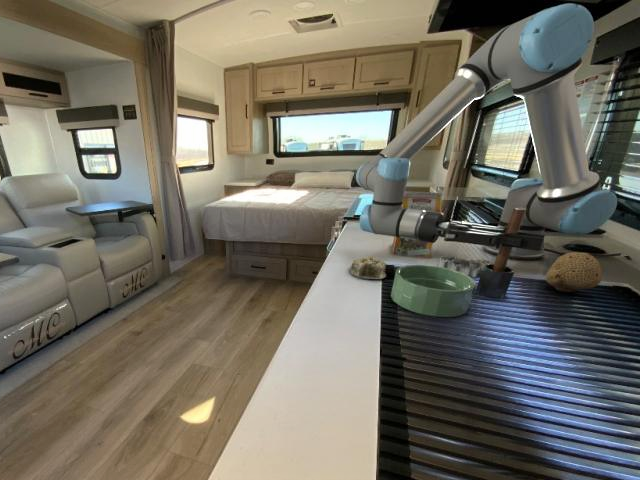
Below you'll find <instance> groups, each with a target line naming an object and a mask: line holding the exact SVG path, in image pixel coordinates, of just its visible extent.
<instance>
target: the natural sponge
mask: <svg viewBox="0 0 640 480" xmlns="http://www.w3.org/2000/svg"><path fill="white" fill-rule="evenodd" d="M577 252H578V251H572V253H570V252H566V253H567V254H565V255H560V256H559V257H558V258H556V259H555V261H554V262H553V263H552V265H551V266H550V268H549V270H548V271H547V273H546V275H545V281H546V282H547V283H548V285H550V286H551V287H553V288H555V289H556V290H557V291H559V292H563V293H572V292H576V291H582V290H583V291H584V290H590V289H593V288H596V287H597V286H598V285H599V284H600V283H601V282H602V280H603V275H602V269H601V265H600V262H599V261H598V259H597V258H595V256H591V255H590V254H587V253H588V252H584V253H577Z"/></svg>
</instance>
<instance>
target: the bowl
mask: <svg viewBox="0 0 640 480" xmlns="http://www.w3.org/2000/svg"><path fill="white" fill-rule="evenodd" d="M476 288H477V282H476V281H475V280H474V279H473V277H470V276H468V275H465V274H463V273H461V272H458V271H455V270H452V269H448V268H443V267H439V265H430V264H408V265H407V264H406V265H402V266H400V267H398V268H397V269H396V270H395V274H394V278H393V283H392V288H391V292H390V297H391V300H392V301H393V302H394V303H395V304H397V306H399V307H402V308H404V309H405V310H408V311H410V312H413V313H415V314H420V315H423V316H430V317H435V318H436V317H438V318H453V317H454V318H455V317H459V316H463V315H465V314H466V313H467V312H468V310H469V308H470V305H471V302H472V299H473V296H474V293H475V291H476Z"/></svg>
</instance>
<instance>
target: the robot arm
mask: <svg viewBox="0 0 640 480" xmlns="http://www.w3.org/2000/svg"><path fill="white" fill-rule="evenodd" d="M594 33H595V23H594V18H593V16H592V14H591V12H590V11H589V10H588V9H587V8H586V7H585V6H583V5H581V4H577V3H571V2H569V3H563V4H559V5H556V6H552V7H549V8H544V9H543V10H540V11H539V12H536V13H534V14H532V15H529V16H527V17H525V18H523V19H521V20H518V21H517V22H514V23H510V24H509V25H507V26H505V27H503V28H502V29H500V30H499V31H498V32H496V33H495V34H493V35H492V36H491V37H490V38H489V39H488V40H487V41H485V42H484V43H483V44H482V45H481V46H480V47H479V48H478V49H477V50H476V51H475V52H474V53H473V54H472V55H471V56H470V57H469V58H468V59H467V60H466V61H465V62H464V63H463V64H462V65H461V66H460V67H459V68H458V69H457V70H456V71H455V72H454V78H453V80H452V81H451V82H449V83H448V85H447V86H446V87H445V88H443V90H441V92H439V93H438V94H437V95H436V96H435V97H434V98H433V99H432V100H431V101H430V102H429V103H428V104H427V105H426V106H425V108H423V109H422V110H421V111H420V112H419V113H418V114H417V115H416V116H415V117H414V118H413V119H412V120H411V121H410V122H409V123H408V124H407V125H406V126H405V127H404V128H403V129H402V131H400V132H399V133H398V134H397V135H396V136H395V137H394V138H393V139H392V140H391V141H390V142H389V143H388V144H387V145H386V146H384V148H383V149H382V150H381V151H380V152H379V153H378V154H376V156H375V157H374V158H372V159H371V160H370V161H367V162H365V163H363V164H361V165H360V167H358V169H357V171H356V174H355V181H356V183H357V184H358V185H359V186H360V187H361V188H362V189H364V190H365V191H370V192H373V196H372V202H371V204H366V205H365V206H364V207H363V208H362V210H361V214H360V216H359V227H360V229H361V231H363V232H366V233H371V234H373V235H381V236H387V237H388V236H389V237H393V238H394V237H399V238H405V240H406V241H409V239H411V240H417V239H419V241H422V242H428V243H433V244H434V243H436V242H437V241H438V239H439V238H443V241H444V242H446V243H447V242H453V243H454V242H455V243H461V244H471V245H477V246H483V250H484V251H485V252H487V253H488V254H492V255H494V256H497V255H498V252H499V249H500V246H501V245H502V246H508V247H513V248H512V251H511V253H510V256H509V259H513V260H522V261H533V260H539V259H540V260H541V259H542V257H543V256H544V253H545V252H548V253H553V254H556V255H560V256H562V255H565V254H567V253H568V252H562V251H557V250H554V249H550V248H545V237H546V234H545V230H546V229H549V230H552V231H556V232H558V233H561V234H565V235H566V234H568V235H573V236H583V235H586V234H589V233H592V232H594V231H596V230H598V229H599V228H601V227H602V226H603V225H605V224H606V223H607V221H608V220H609V219H610V218H611V217H612V216H613V215H614V213H615V211H616V209H617V206H618V198H617V195H616V194H615V193H614V192H612V191H610V190H609V189H602V185H601V180H600V175H599V174H598V173H597V172H595V171H591V170H590V169H589V162H588V157H587V156H588V155H587V150H586V142H585V137H584V131H583V126H582V120H581V119H582V118H581V113H580V107H579V101H578V95H577V89H576V82H575V74H576V73H577V72H578V70H579V69H580V68H581V66H582V65H583V60H582V59H583V58H582V56H584V55H585V53H586V52H587V51H588V49H589V47H590V45H589V43H590V42H591V41H592V40H593V37H594ZM505 82H510V86H511V89H512V93H513V96H516V97H519V98H521V99H523V102H524V107H525V112H526V115H527V120H528V125H529V130H530V134H531V138H532V143H533V147H534V152H535V156H536V160H537V165H538V170H539V174H540V177H537V178H536V177H535V178H518V179H515V180H514V181H512V184H511V185H510V188H509V190H508V192H507V197H506V200H505V203H504V205H503V208H502V212H501V215H500V218H499V222H498V225H497V226H494V225H488V224H481V223H474V222H469V221H464V220H451V221H444V220H445V215H444V213H443V212H431V211H428V212H425V211H424V210H415V209H404V208H402V204H403V198H404V194H405V192H406V189H407V183H408V180H409V176H410V167H411V159H412V158H413V157H415V156H416V155H417V154H418V153H419V152H420V151H421V150H422V149H423V148H424V147H425V146H426V145H427V144H428V143H429V142H430V141H432V140H433V139H434V137H436V136H437V135H438V134H439V133H440V132H441V131H442V130H444V129H445V127H446V126H448V124H450V123H451V122H452V121H453V120H454V119H455V118H456V117H457V116H458V115H459V114H460V113H461V112H462V111H464V110H465V109H466V107H468V106H469V105H470V104H471V103H472V102H473V101H474V100H480V99H482V98H483V97H484V96H485V95H486V94H487V93H488V92H490V91H491V90H492V89H494V88H496V87H497V86H499V85H502V84H503V83H505ZM513 208H525V209H527V210H526V212H525V215H524V218H523V221H522V223H521V226H520V229H519V232H518V234H511V233H505V231H506V229H507V226H508V223H509V220H510V217H511V214H512V211H513ZM504 234H505V235H504ZM572 252H573V251H572ZM572 252H569V253H572ZM576 252H577V253H585V252H583V251H581V252H580V251H576ZM586 253H587V254H590V255H591V256H593V257H600V258H601V257H603V258H609V257H621V256H620V255H621V253H622V252H621V253H620V252H619V253H608V254H607V253H605V254H601V253H594V252H593V253H591V252H586ZM623 257H624V258H626V259H627V260H632V257H631V256H630V255H628V256H623Z"/></svg>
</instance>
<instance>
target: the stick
mask: <svg viewBox="0 0 640 480" xmlns="http://www.w3.org/2000/svg"><path fill="white" fill-rule="evenodd" d="M526 210H527V209H525V208H513V211H512V214H511V217H510V220H509V223H508V226H507V229H506V231H505V233H511V234H518V232H519V229H520V226H521V223H522V221H523V218H524V215H525V212H526ZM504 235H505V234H504ZM512 248H513V247H508V246H502V245H501V246H500V249H499V252H498V255H496V257H495V261H494V263H493V264H494V266H493V269H492V270H494V271H500V272H504V270H505V267H506V266H507V265H508V261H509V259H510V258H509V256H510V253H511V251H512Z"/></svg>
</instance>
